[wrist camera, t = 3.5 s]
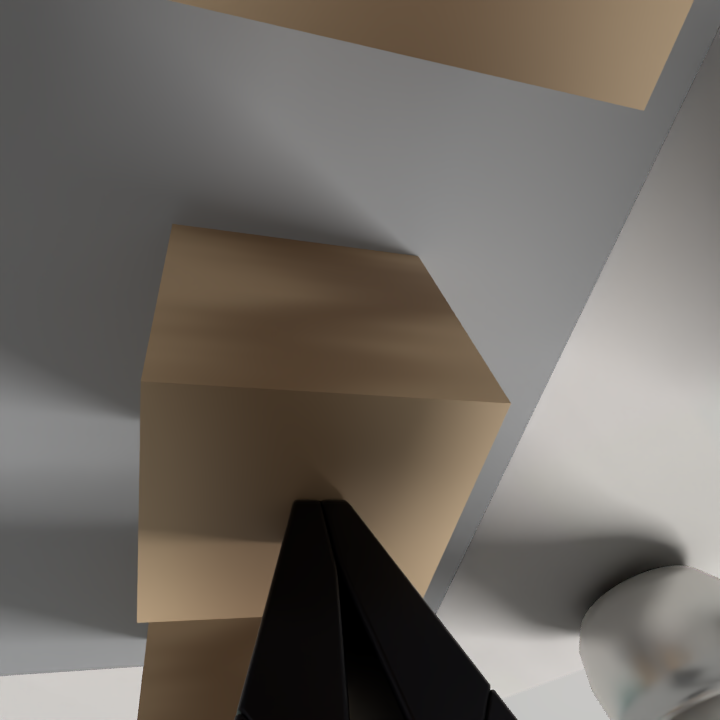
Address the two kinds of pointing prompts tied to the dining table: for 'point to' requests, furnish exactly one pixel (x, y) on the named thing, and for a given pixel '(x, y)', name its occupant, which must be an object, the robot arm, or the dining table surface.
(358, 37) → the oak block marked 1
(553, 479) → the dining table surface
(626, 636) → the plastic bottle
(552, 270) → the grey rubber mat
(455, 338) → the plain oak block
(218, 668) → the oak block marked 7
